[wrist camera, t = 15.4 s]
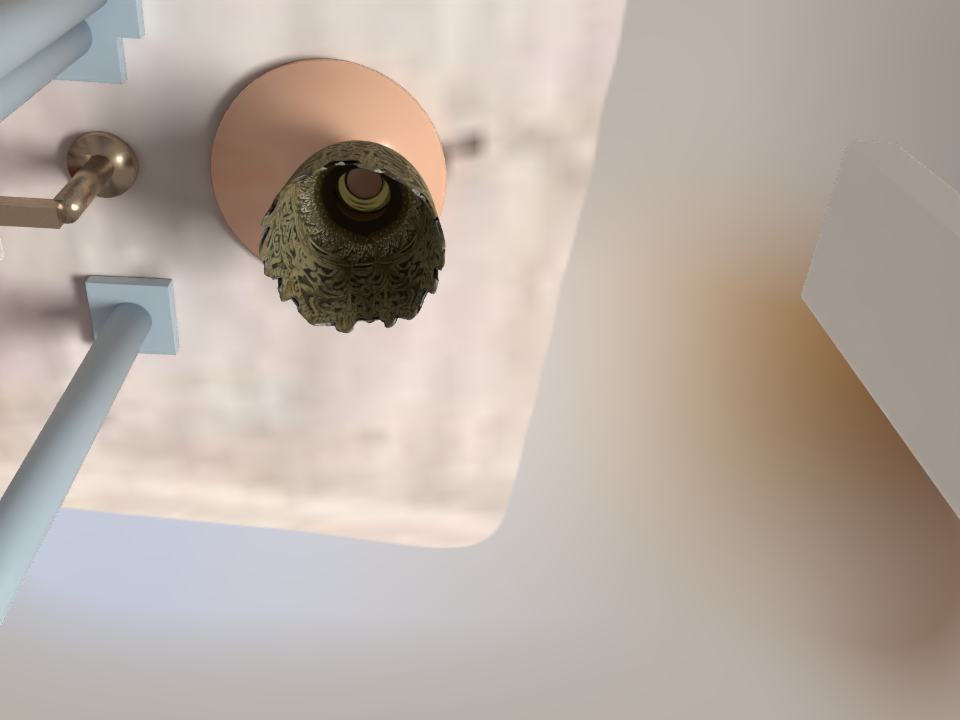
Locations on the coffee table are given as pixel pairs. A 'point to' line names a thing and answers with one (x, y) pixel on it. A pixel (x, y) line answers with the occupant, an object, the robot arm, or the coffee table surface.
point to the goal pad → (314, 136)
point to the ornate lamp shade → (353, 239)
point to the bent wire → (77, 183)
